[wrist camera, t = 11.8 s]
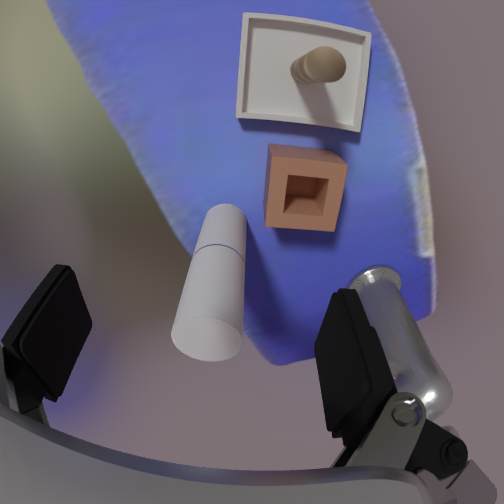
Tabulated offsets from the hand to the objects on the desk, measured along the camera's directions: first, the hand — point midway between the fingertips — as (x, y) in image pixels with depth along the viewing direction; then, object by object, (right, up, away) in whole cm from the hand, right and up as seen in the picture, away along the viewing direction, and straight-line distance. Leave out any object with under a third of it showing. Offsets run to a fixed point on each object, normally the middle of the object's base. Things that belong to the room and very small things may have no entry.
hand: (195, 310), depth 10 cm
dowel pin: (+9, +27, +24) cm, 38 cm away
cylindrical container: (-3, +7, +39) cm, 39 cm away
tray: (+9, +28, +25) cm, 38 cm away
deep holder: (+9, +14, +34) cm, 38 cm away
